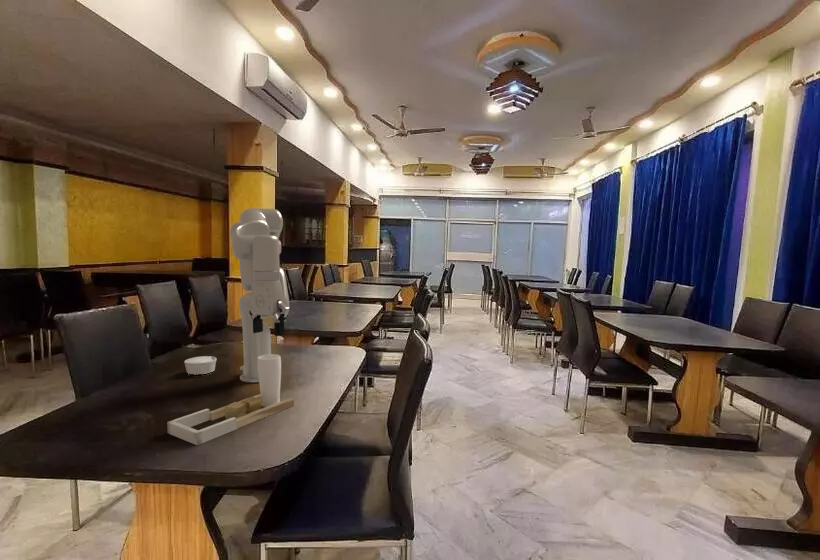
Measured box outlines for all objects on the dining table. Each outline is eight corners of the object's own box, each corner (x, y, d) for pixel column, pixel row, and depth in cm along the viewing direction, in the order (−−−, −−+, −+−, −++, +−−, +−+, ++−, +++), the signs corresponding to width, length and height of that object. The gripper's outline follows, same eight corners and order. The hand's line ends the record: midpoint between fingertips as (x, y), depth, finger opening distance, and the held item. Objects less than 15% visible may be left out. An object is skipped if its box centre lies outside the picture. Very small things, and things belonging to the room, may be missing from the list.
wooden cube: (241, 414, 125) (240, 400, 125) (252, 409, 129) (252, 396, 128) (249, 416, 123) (249, 403, 123) (261, 412, 126) (261, 398, 126)
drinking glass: (286, 402, 134) (285, 354, 133) (273, 410, 127) (271, 360, 126) (268, 400, 136) (266, 353, 135) (254, 408, 130) (252, 358, 128)
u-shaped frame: (167, 433, 112) (167, 421, 112) (207, 419, 121) (206, 408, 121) (197, 445, 105) (196, 433, 105) (236, 429, 114) (236, 418, 114)
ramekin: (219, 373, 166) (219, 360, 166) (187, 378, 160) (186, 364, 160) (214, 367, 176) (213, 354, 175) (183, 372, 169) (182, 358, 169)
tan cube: (225, 420, 120) (224, 406, 120) (235, 415, 124) (234, 401, 124) (237, 422, 119) (236, 408, 119) (246, 417, 123) (246, 403, 123)
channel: (208, 419, 121) (207, 412, 121) (266, 398, 138) (266, 392, 138) (236, 429, 114) (235, 421, 114) (294, 405, 131) (293, 399, 131)
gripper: (237, 277, 130) (239, 333, 132) (276, 278, 121) (278, 339, 122) (258, 275, 137) (260, 329, 138) (296, 276, 127) (298, 334, 128)
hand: (268, 333), depth 130 cm, fingers open, 9 cm apart
